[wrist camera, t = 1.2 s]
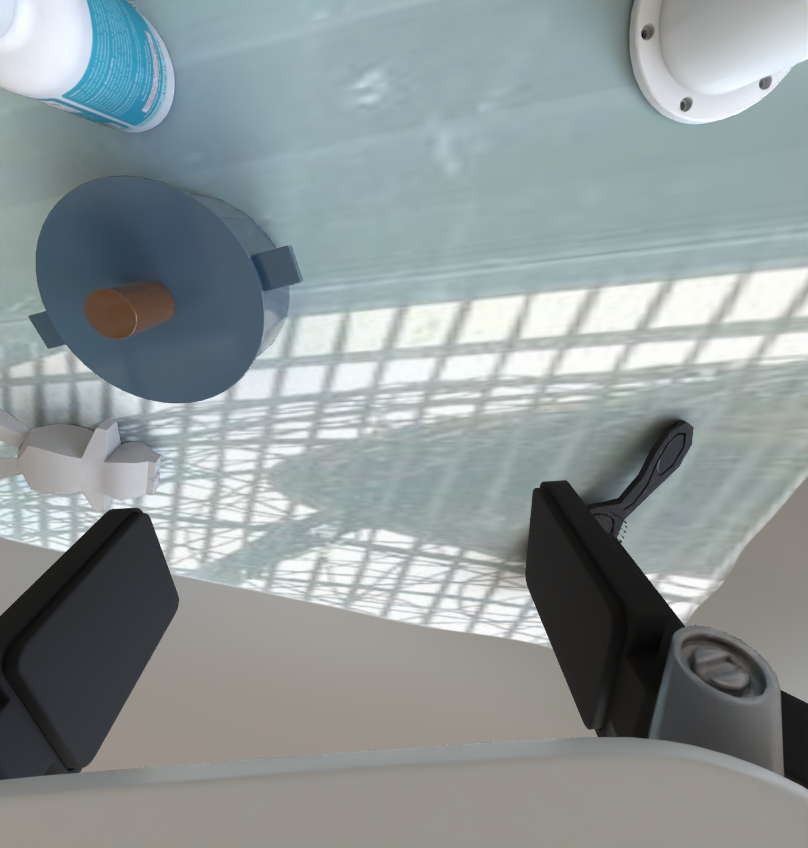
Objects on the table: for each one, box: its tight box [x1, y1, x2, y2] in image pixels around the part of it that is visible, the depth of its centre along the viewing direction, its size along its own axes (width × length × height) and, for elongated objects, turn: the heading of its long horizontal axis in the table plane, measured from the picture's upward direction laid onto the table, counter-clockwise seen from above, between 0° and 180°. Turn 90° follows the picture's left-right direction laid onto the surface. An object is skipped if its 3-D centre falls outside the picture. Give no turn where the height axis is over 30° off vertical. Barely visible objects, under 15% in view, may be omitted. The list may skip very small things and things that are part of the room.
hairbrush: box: [587, 420, 693, 543], centre depth 45 cm, size 8×4×25 cm
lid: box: [36, 176, 266, 403], centre depth 26 cm, size 14×14×6 cm
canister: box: [29, 193, 303, 357], centre depth 32 cm, size 14×19×8 cm
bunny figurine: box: [0, 409, 161, 511], centre depth 39 cm, size 10×5×15 cm
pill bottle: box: [0, 0, 175, 133], centre depth 23 cm, size 8×7×14 cm
